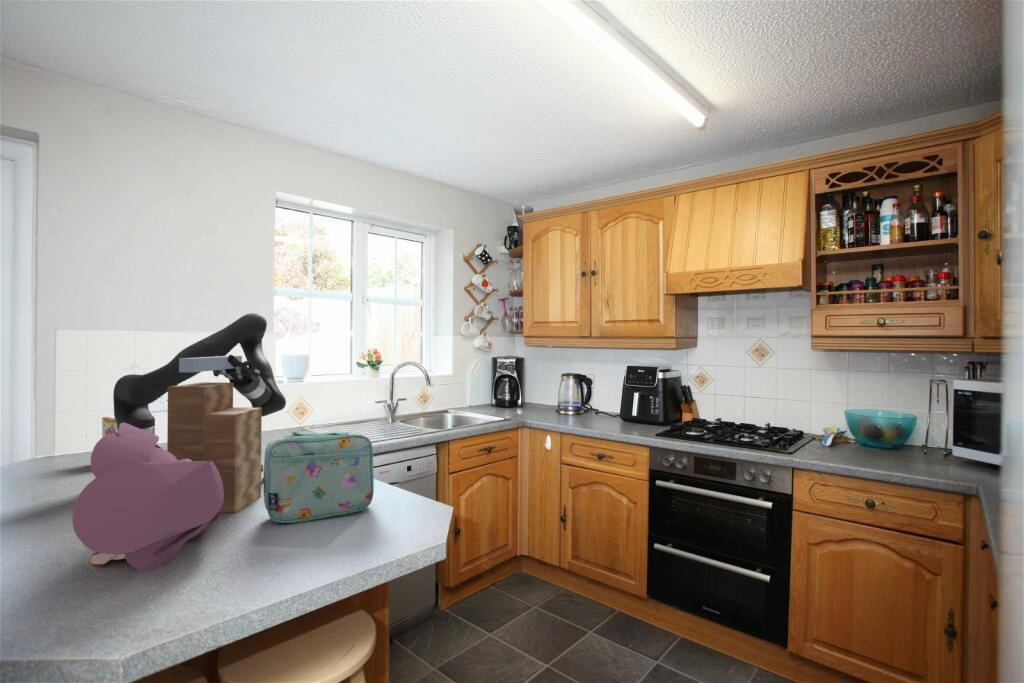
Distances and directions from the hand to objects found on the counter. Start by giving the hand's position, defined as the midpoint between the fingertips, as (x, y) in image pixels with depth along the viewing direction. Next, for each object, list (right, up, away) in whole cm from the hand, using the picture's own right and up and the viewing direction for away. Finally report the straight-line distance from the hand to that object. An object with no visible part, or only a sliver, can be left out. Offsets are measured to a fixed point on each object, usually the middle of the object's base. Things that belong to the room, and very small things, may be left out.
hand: (222, 357), depth 145 cm
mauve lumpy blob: (+7, -39, -39) cm, 56 cm away
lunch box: (+34, -39, -17) cm, 55 cm away
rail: (0, -3, -5) cm, 6 cm away
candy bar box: (-57, -39, +34) cm, 77 cm away
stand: (+4, -39, -9) cm, 40 cm away
